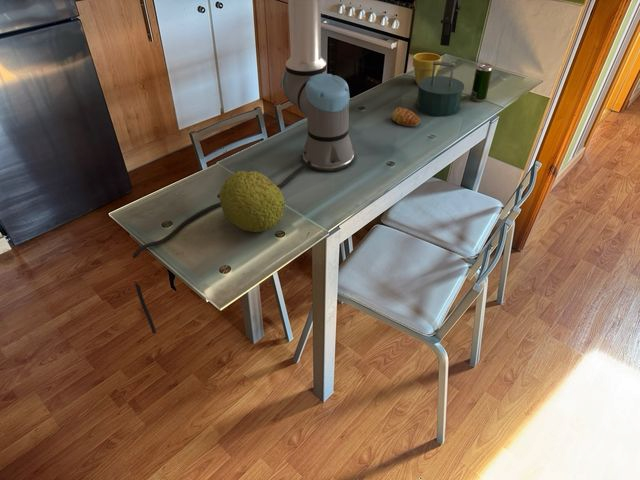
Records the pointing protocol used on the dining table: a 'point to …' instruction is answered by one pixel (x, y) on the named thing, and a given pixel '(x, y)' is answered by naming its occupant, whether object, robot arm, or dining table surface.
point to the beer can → (481, 82)
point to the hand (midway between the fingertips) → (447, 38)
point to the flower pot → (425, 65)
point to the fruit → (251, 201)
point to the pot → (438, 103)
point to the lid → (441, 82)
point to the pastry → (405, 117)
